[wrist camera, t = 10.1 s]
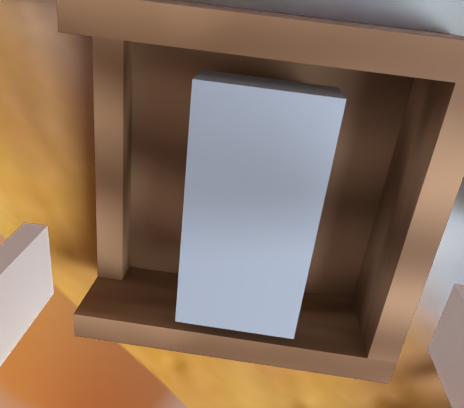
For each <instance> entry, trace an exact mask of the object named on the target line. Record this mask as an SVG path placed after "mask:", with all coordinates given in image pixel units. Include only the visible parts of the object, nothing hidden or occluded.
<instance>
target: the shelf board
mask: <svg viewBox="0 0 464 408" xmlns="http://www.w3.org/2000/svg"><path fill="white" fill-rule="evenodd" d="M346 100H347V99H346V98H345V96H344V95H343V93H342V92H341V90H340V89H339V88H338V87H332V86H324V85H316V84H308V83H301V82H293V81H285V80H277V79H270V78H262V77H254V76H246V75H239V74H231V73H223V72H215V71H208V70H201V71H200V72H199V73H198V74H197V75H196V76H195V77H194V78H193V79H192V91H191V105H190V119H189V133H188V147H187V161H186V176H185V190H184V204H183V218H182V232H181V246H180V261H179V275H178V289H177V303H176V317H175V322H182V323H189V324H195V325H202V326H209V327H215V328H222V329H229V330H235V331H242V332H249V333H256V334H262V335H269V336H276V337H282V338H289V339H294V335H295V331H296V326H297V322H298V317H299V313H300V308H301V304H302V299H303V294H304V290H305V285H306V281H307V276H308V272H309V267H310V263H311V258H312V254H313V249H314V245H315V240H316V236H317V231H318V226H319V222H320V217H321V213H322V208H323V204H324V199H325V195H326V190H327V186H328V181H329V177H330V172H331V168H332V163H333V158H334V154H335V149H336V145H337V140H338V136H339V131H340V127H341V122H342V118H343V113H344V109H345V104H346Z"/></svg>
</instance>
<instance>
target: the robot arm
mask: <svg viewBox="0 0 464 408" xmlns="http://www.w3.org/2000/svg"><path fill="white" fill-rule="evenodd" d="M53 294H54V291H53V279H52V268H51V258H50V247H49V236H48V226H46V225H39V224H32V223H23V224H22V225H21V226H20V227H19V228H18V229H17V230H16V231H15V232H14V233H13V234H12V235H11V236H10V237H8V238H7V239H6V240H5V241H4V242H3V243H2V244H1V245H0V366H1V365H2V363H3V362H4V361H5V359H6V358H7V356H8V355H9V354H10V352H11V351H12V350H13V348H14V347H15V346H16V344H17V343H18V342H19V340H20V339H21V337H22V336H23V335H24V333H25V332H26V331H27V329H28V328H29V326H30V325H31V324H32V322H33V321H34V320H35V318H36V317H37V315H38V314H39V313H40V311H41V310H42V308H43V307H44V306H45V305H46V303H47V302H48V300H49V299H50V298H51V296H52V295H53ZM428 351H429V354H430V356H431V358H432V361H433V363H434V366H435V368H436V371H437V373H438V376H439V378H440V380H441V383H442V385H443V388H444V390H445V393H446V395H447V398H448V400H449V402H450V405H451V407H452V408H464V285H457V284H454V287H453V289H452V291H451V294H450V296H449V299H448V301H447V304H446V306H445V308H444V311H443V313H442V316H441V318H440V320H439V323H438V325H437V328H436V330H435V333H434V335H433V337H432V340H431V342H430V345H429V347H428Z"/></svg>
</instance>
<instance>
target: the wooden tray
mask: <svg viewBox="0 0 464 408" xmlns="http://www.w3.org/2000/svg"><path fill="white" fill-rule="evenodd" d="M57 16H58V32H61V33H69V34H77V35H84V36H92V52H93V95H94V138H95V180H96V223H97V266H98V277H97V279H96V280H95V282H94V283H93V285H92V286H91V288H90V289H89V291H88V293H87V294H86V296H85V297H84V299H83V300H82V302H81V303H80V305H79V307H78V308H77V310H76V311H75V313H74V330H75V336H77V337H84V338H91V339H98V340H104V341H110V342H117V343H124V344H130V345H137V346H143V347H150V348H156V349H163V350H170V351H176V352H183V353H189V354H196V355H202V356H209V357H216V358H222V359H229V360H235V361H242V362H249V363H255V364H262V365H268V366H275V367H281V368H288V369H295V370H301V371H308V372H314V373H321V374H328V375H334V376H341V377H347V378H354V379H360V380H367V381H374V382H380V383H387V384H389V383H390V380H391V377H392V374H393V371H394V369H395V366H396V363H397V360H398V358H399V355H400V352H401V349H402V346H403V344H404V341H405V338H406V335H407V333H408V330H409V327H410V324H411V321H412V319H413V316H414V313H415V310H416V308H417V305H418V302H419V299H420V296H421V294H422V291H423V288H424V285H425V283H426V280H427V277H428V274H429V271H430V269H431V266H432V263H433V260H434V258H435V255H436V252H437V249H438V246H439V244H440V241H441V238H442V235H443V233H444V230H445V227H446V224H447V221H448V219H449V216H450V213H451V210H452V208H453V205H454V202H455V199H456V196H457V194H458V191H459V188H460V185H461V183H462V180H463V177H464V37H462V36H457V35H452V34H444V33H436V32H428V31H420V30H412V29H404V28H396V27H388V26H380V25H371V24H363V23H355V22H347V21H339V20H331V19H323V18H315V17H307V16H298V15H290V14H282V13H274V12H266V11H258V10H250V9H242V8H234V7H226V6H217V5H209V4H201V3H193V2H185V1H177V0H57ZM201 70H208V71H215V72H223V73H231V74H239V75H246V76H254V77H262V78H270V79H277V80H285V81H293V82H301V83H308V84H316V85H324V86H332V87H338V88H339V89H340V90H341V92H342V93H343V95H344V96H345V98H346V99H347V100H346V104H345V109H344V113H343V118H342V122H341V127H340V131H339V136H338V140H337V145H336V149H335V154H334V158H333V163H332V168H331V172H330V177H329V181H328V186H327V190H326V195H325V199H324V204H323V208H322V213H321V217H320V222H319V226H318V231H317V236H316V240H315V245H314V249H313V254H312V258H311V263H310V267H309V272H308V276H307V281H306V285H305V290H304V294H303V299H302V304H301V308H300V313H299V317H298V322H297V326H296V331H295V335H294V339H289V338H282V337H276V336H269V335H262V334H256V333H249V332H242V331H235V330H229V329H222V328H215V327H209V326H202V325H195V324H189V323H182V322H175V317H176V303H177V289H178V275H179V261H180V246H181V232H182V218H183V204H184V190H185V176H186V161H187V147H188V133H189V119H190V105H191V91H192V79H193V78H194V77H195V76H196V75H197V74H198V73H199V72H200V71H201Z"/></svg>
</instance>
